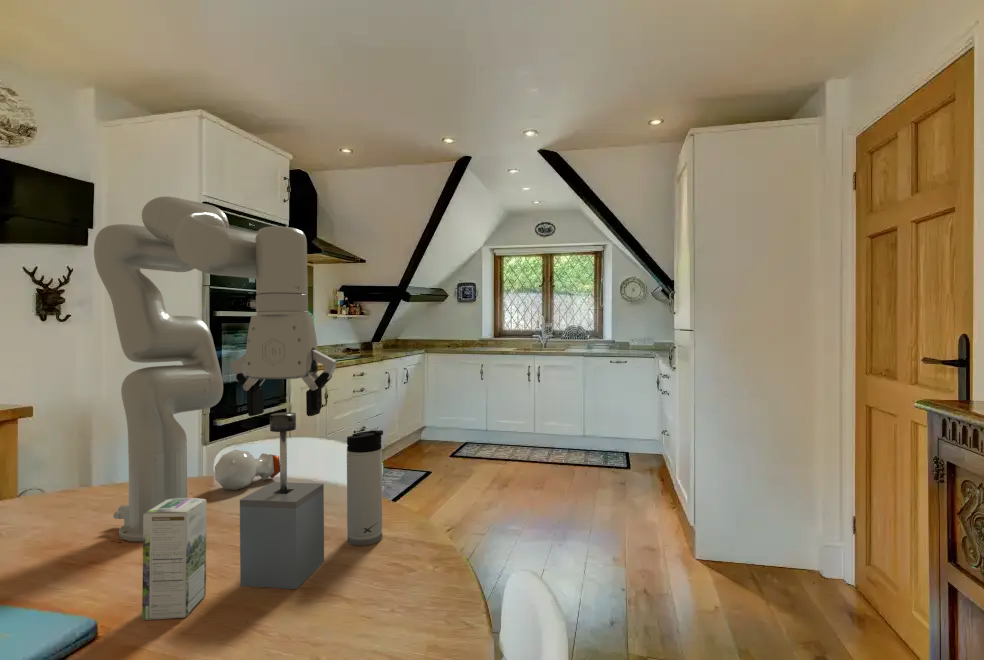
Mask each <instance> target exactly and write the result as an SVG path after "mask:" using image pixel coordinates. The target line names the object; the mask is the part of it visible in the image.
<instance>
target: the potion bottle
mask: <svg viewBox="0 0 984 660" xmlns="http://www.w3.org/2000/svg"><path fill="white" fill-rule="evenodd" d="M278 474H280V455H275V454H271V453H270V454H268V453H261V454H260V455H259V457H258V458H255V457H254V456H253V454H252V453H250V452H249V451H248V450H239V449H234V450H231V451H230V452H227V453H225V454H224V453H223V454H222V455H221V456H220V458H219V460H218V462H217V463H216V464H215V466H214V476H215V477H214V479H215V481H216V482H217V483H218V484H219V485H220V486H221V487H222V488H223V489H224V490H232V491H239V490H238V489H240V490H242V489H243V488H246V487H247V486H250V485H251V484H252V482H253V480H254V479H255V477H260V478H261V479H262V480H263V481H264V480H265V481H266V480H267V479H268V478H271V479H273V478H275V477H276V476H277V475H278ZM241 488H242V489H241Z"/></svg>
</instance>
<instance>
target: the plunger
mask: <svg viewBox="0 0 984 660" xmlns="http://www.w3.org/2000/svg"><path fill="white" fill-rule="evenodd" d="M296 429H297V413H296V412H288V411H287V412H277V413H276V412H275V413H272V414H270V415H269V431H270V432H272V433H279V460H280V472H279V477H280V478H279V479H280V480H279V482H280V494H287V482H288V462H287V461H288V451H287V450H288V447H287V445H288V442H287V441H288V440H287V438H288V435H287V434H288V433H287V432H293V431H295V430H296Z"/></svg>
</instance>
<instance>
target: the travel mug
mask: <svg viewBox="0 0 984 660" xmlns="http://www.w3.org/2000/svg"><path fill="white" fill-rule="evenodd" d="M383 435H384V430H383V429H382V430H367V431H366V430H365V431H361V432H355V433H352V434H351V435H349V436H348V435H347V437H346V445H347V446H346V507H347V510H346V513H347V514H346V518H347V519H346V521H347V522H346V524H347V525H346V526H347V527H346V529H347V531H346V532H347V536H346V537H347V542H348V544H350V545H352V546H356V547H365V546H366V547H367V546H371V545H375V544H377V543H378V542H380V541H381V540H382V538H383V455H382V453H383V451H382V450H383V448H382V436H383Z"/></svg>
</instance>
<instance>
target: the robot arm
mask: <svg viewBox="0 0 984 660" xmlns="http://www.w3.org/2000/svg"><path fill="white" fill-rule="evenodd" d="M141 220H142V223H143V225H144V226H143V225H135V224H129V223H128V224H126V223H125V224H124V223H120V224H119V223H117V224H111V225H106V226H105V227H103V228H102V229H100V230H99V232H97V234H96V236H95V240H94V244H93V257H94V258H93V259H94V264H95V268H96V270H97V274H98V276H99V278H100V280H101V282H102V284H103V286H104V288H105V289H106V291H107V294H108V295H109V298H110V300H111V304H112V308H113V315H114V319H115V323H116V329H117V332H118V337H119V342H120V346H121V349H122V352H123V354H124V356H125V357H126V358H127V359H128V360H129V361H131V362H134V363H146V364H148V363H170V362H181V364H182V365H181V364H180V365H179V364H178V365H177V364H175V365H174V364H173V365H160V366H159V365H157V366H147V367H141V368H139V369H136V370H133V371H132V372H130V373H128V375H126V376H125V378H124V380H123V382H122V383H121V384H122V385H121V389H120V391H121V399H122V404H123V407H124V408H123V409H124V412H125V413H124V414H125V418H126V424H127V425H126V426H127V440H128V443H127V445H128V446H127V447H128V448H127V450H128V451H127V453H128V504H122V505H119V507H118V509H117V510H116V511H115V512H114V513H113V519H115V520H117V519H118V520H123V521H124V523H123V525H122V526H121V527H120V528H119V530H118V537H119V539H120V540H123V539H124V540H123V541H126V540H127V542H143V514H144V513H146V512H147V511H149V510H151V509H152V508H154V507H156V506H157V505H159V504H161V503H162V502H164V501H166V500H169V499H175V498H188V445H187V442H188V440H187V434H186V431H185V429H184V428H183V427H182V425H181V424H180V423H179V422H178V420H176V418H175V417H174V415H175V414H180V413H187V412H193V411H201V410H206V409H211V408H213V407H214V406H216V405H218V403H220V401H221V399H222V397H223V394H224V382H223V376H222V372H221V371H222V370H221V367H220V362H219V359H218V355H217V351H216V347H215V344H214V338H213V335H212V333H211V329H210V328H209V326H208V325H207V324H206V322H204V321H203V320H202V319H201V318H199V317H196V316H192V315H171V314H169V313H168V312H167V309H166V307H165V303H164V297H163V295H162V292H161V291H160V289H159V288H158V287H157V285H156V284H154V282H153V281H152V280H151V279H150V278H149V277H147V276H146V275H145V274H144V273H142V271H141V269H143V270H149V271H150V270H151V271H162V272H173V273H188V272H190V271H193V270H198V271H199V272H202V273H205V274H209V275H215V276H222V277H223V276H225V277H237V278H246V279H254V280H255V282H256V284H255V286H256V289H255V290H256V293H255V294H256V295H255V299H252V300H250V302H249V306H250V308H251V309H255V312H256V315H251V317H250V321H249V326H248V332H247V339H246V349H245V354H244V355H243V356H241V357H239V358H237V359H235V360H234V361H232V362H231V363H230V367H231V369H232V371H233V373H234V375H235V379H236V380H237V381H238V382H239V384H241V385H242V388H243V389H242V390H244V391H246V407H247V414H248V416H249V417H254V416H258V415H261V414H263V413H264V411H265V406H264V403H265V402H264V399H265V398H264V389H263V388H261V386H262V385H263V383H265V381H266V380H291V379H292V380H296V379H302V380H303V382H304V383H305V384H306V385H307V387H308V388H309V389H308V390H306V393H305V399H306V401H305V402H306V403H305V404H306V406H305V407H306V411H305V412H306V416H308V417H314V416H316V415H319V414H320V413H321V410H322V406H323V404H322V403H323V398H322V397H323V396H322V395H323V394H322V392H323V390H322V389H323V388H325V387H326V384H327V383H328V382H330V381H331V379H332V378H333V374H334V372H335V370H336V369H337V366H338V361H337V360H335V359H334V358H332V357H330V356H327V355H326V354H324V353H322V352H320V351H319V350H318V341H317V333H316V328H315V323H314V320H313V316H312V314H309V299H308V297H309V296H308V295H309V293H308V289H309V288H308V242H307V237H306V234H305V233H304V231H302V230H300V229H298V228H295V227H289V226H278V225H277V226H274V225H273V226H272V225H271V226H265V227H262V228H260V229H259V230H258V231H257V232H256V233H255V232H251V231H245V230H239V229H234V228H230V224H229V220H228V217H227V215H226V214H225V213H224V211H223V210H221V209H220V208H219V207H216V206H215V205H212V204H209V203H204V202H203V203H202V202H198V201H193V200H189V199H184V198H180V197H174V196H158V197H155V198H153V199H151V200H149V201H148V202H146V204H145V205H144V206H143V208H142V211H141ZM319 364H320V365H322V366H323V370H322V372H321V373H320V374H318V371H319Z"/></svg>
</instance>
